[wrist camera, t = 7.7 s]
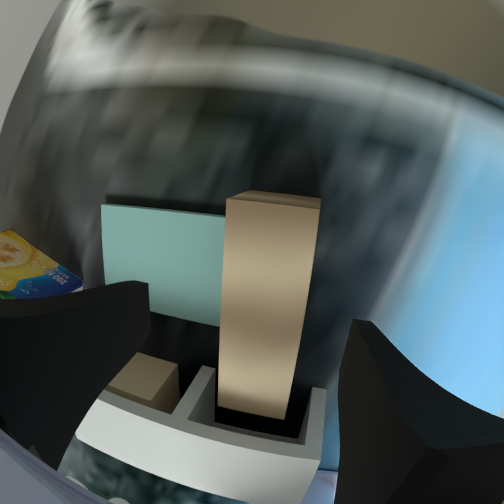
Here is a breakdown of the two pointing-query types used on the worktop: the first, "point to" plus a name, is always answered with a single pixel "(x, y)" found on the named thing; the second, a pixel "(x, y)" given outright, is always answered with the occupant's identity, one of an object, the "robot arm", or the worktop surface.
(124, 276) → the teal mat
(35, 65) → the worktop surface
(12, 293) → the beverage box
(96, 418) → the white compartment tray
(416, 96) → the worktop surface
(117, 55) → the worktop surface
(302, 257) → the beech bar
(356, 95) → the worktop surface
